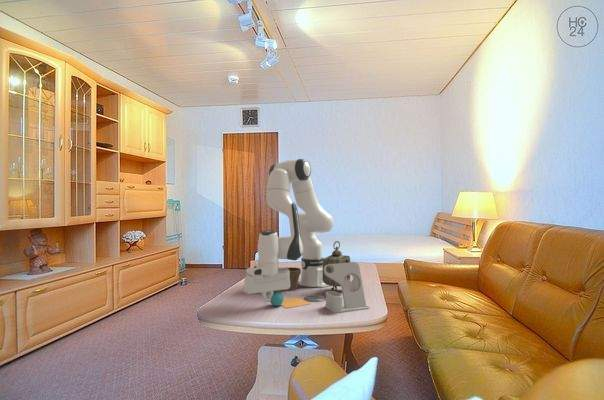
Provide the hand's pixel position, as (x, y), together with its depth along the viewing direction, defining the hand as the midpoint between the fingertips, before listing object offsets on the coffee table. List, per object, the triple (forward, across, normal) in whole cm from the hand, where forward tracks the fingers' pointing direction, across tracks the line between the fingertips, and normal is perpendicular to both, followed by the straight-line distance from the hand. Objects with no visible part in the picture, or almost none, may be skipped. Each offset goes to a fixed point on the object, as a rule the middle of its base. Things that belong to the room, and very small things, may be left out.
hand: (267, 301), depth 140 cm
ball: (-1, -4, 0) cm, 4 cm away
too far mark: (+2, -24, -1) cm, 24 cm away
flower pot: (+2, -23, -22) cm, 32 cm away
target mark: (+2, -12, 0) cm, 12 cm away
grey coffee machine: (+2, -29, +17) cm, 33 cm away
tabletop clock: (+1, -40, -6) cm, 40 cm away
